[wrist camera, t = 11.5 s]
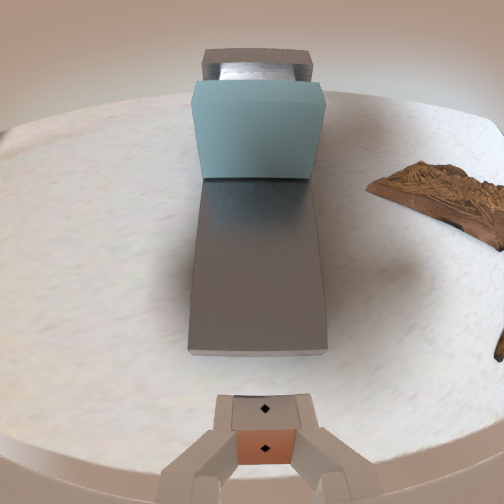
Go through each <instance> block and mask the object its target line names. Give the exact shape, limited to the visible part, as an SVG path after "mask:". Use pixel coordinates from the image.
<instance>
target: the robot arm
mask: <svg viewBox="0 0 504 504" xmlns="http://www.w3.org/2000/svg"><path fill="white" fill-rule="evenodd" d="M259 464H291V466H292V467H293V468H294V469H295V470H296V471H297V473H298V474H299V475H300V476H301V477H302V478H303V479H304V480H305V481H306V482H307V483H308V485H310V487H311V488H312V489H313V490H314V491H315V492H316V493H315V496H314V499H313V501H312V504H504V451H502V452H500V453H498V454H496V455H494V456H492V457H490V458H488V459H486V460H483V461H481V462H479V463H477V464H474V465H472V466H470V467H467V468H465V469H462V470H460V471H457V472H455V473H452V474H449V475H446V476H444V477H441V478H438V479H435V480H432V481H429V482H426V483H423V484H420V485H417V486H413V487H409V488H406V489H402V490H399V491H395V492H391V493H387V494H384V492H383V489H382V486H381V483H380V480H379V477H378V475H377V472H376V469H375V466H374V464H372V463H371V462H369V461H368V460H367V459H365V458H364V457H362V456H361V455H360V454H358V453H357V452H355V451H354V450H353V449H351V448H350V447H349V446H347V445H346V444H345V443H343V442H342V441H341V440H339V439H338V438H337V437H335V436H334V435H333V434H331V433H330V432H329V431H327V430H326V429H325V428H319V425H318V421H317V417H316V413H315V409H314V406H313V402H312V398H311V395H310V394H294V395H275V396H242V395H234V396H232V395H218V396H217V399H216V407H215V416H214V425H213V430H208V431H207V432H206V433H205V434H203V435H202V436H201V437H200V438H199V439H198V440H197V441H196V442H195V443H193V444H192V445H191V446H190V447H189V448H188V449H187V450H186V451H184V452H183V453H182V454H181V455H180V456H179V457H177V458H176V459H175V460H174V461H173V462H172V463H170V464H169V465H168V466H167V467H166V468H164V469H163V470H162V472H161V476H160V481H159V485H158V489H157V494H156V499H155V502H154V503H153V502H147V501H142V500H136V499H131V498H126V497H121V496H117V495H112V494H108V493H104V492H101V491H97V490H93V489H89V488H86V487H82V486H79V485H76V484H73V483H70V482H66V481H63V480H60V479H58V478H55V477H52V476H49V475H46V474H44V473H41V472H39V471H36V470H33V469H31V468H29V467H26V466H24V465H21V464H19V463H17V462H15V461H12V460H10V459H8V458H6V457H4V456H2V455H0V504H222V497H221V489H220V488H221V487H222V486H223V485H224V483H225V482H226V481H227V480H228V478H229V477H230V476H231V475H232V473H233V472H234V471H235V470H236V468H237V467H238V465H259Z"/></svg>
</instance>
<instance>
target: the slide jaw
mask: <svg viewBox="0 0 504 504" xmlns="http://www.w3.org/2000/svg"><path fill="white" fill-rule="evenodd" d="M191 107H192V114H193V120H194V127H195V133H196V140H197V146H198V152H199V158H200V164H201V170H202V176H203V178H228V177H259V178H306V179H311V174H312V170H313V165H314V160H315V156H316V151H317V146H318V142H319V137H320V132H321V127H322V122H323V117H324V112H325V107H326V103H325V100H324V96H323V93H322V90H321V87H320V84H319V83H317V82H303V81H285V80H209V81H197V83H196V86H195V90H194V93H193V97H192V101H191Z"/></svg>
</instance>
